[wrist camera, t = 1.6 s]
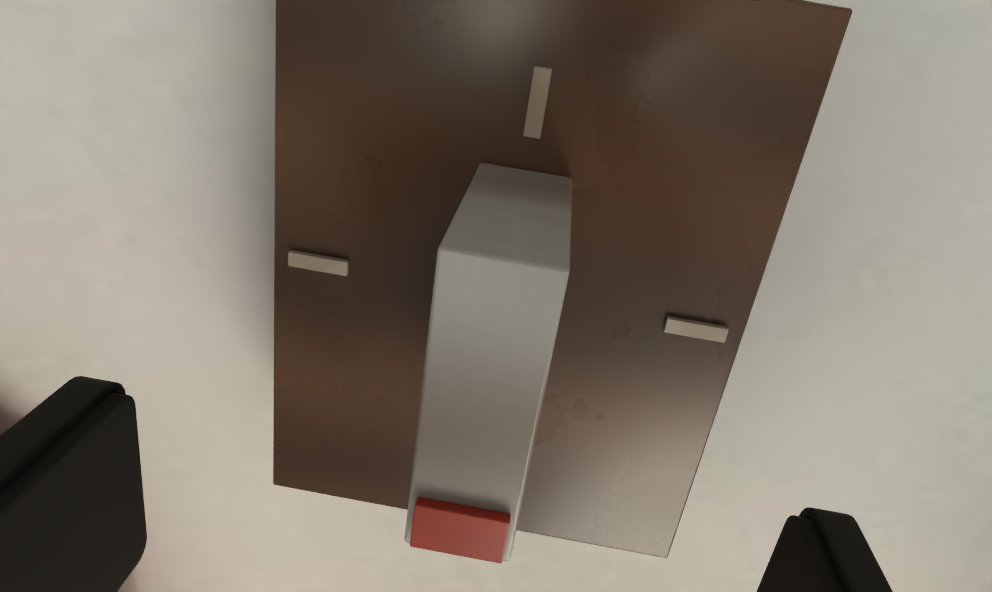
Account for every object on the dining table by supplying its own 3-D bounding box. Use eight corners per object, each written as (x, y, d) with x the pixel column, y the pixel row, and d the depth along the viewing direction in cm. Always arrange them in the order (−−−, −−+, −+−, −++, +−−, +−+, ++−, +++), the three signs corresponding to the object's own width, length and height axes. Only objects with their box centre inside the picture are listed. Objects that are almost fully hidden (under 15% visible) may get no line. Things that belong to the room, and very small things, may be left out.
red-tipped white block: (479, 161, 15) (434, 252, 10) (572, 177, 15) (569, 276, 10) (448, 395, 18) (400, 553, 13) (527, 410, 18) (508, 574, 13)
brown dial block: (326, -76, 16) (272, -84, 13) (807, 1, 16) (857, 9, 13) (309, 421, 22) (270, 489, 19) (656, 485, 22) (667, 563, 19)
